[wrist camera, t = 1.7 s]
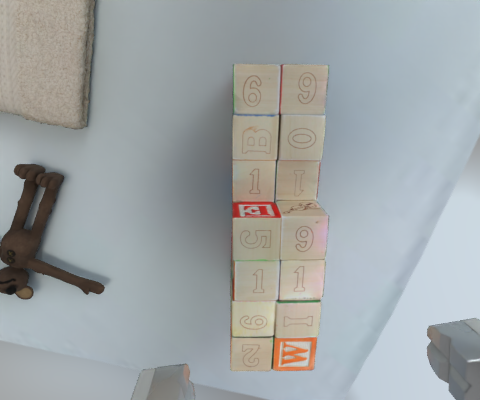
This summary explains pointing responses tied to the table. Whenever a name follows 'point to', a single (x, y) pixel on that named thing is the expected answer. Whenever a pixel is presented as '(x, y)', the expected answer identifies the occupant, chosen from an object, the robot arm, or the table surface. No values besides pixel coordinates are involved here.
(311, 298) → the stack of blocks
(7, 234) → the brown toy monkey
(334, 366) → the table surface
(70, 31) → the washcloth
